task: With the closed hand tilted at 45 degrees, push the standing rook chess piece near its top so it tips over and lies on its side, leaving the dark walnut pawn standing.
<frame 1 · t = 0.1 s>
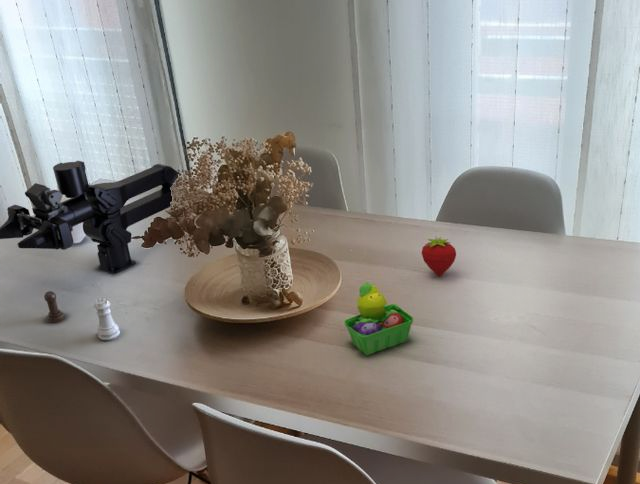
hand: (5, 241, 179), 17 cm above the table, tool horizontal, fingers open, 9 cm apart
sauce bottle: (76, 242, 218), on the table
walnut pawn: (56, 319, 183), on the table
rook chess piece: (109, 336, 175), on the table
strawberry: (439, 276, 186), on the table
fruit basket: (378, 342, 165), on the table
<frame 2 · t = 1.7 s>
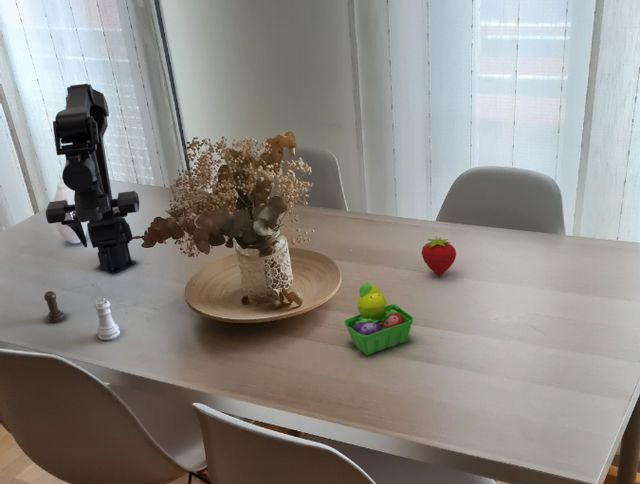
hand: (101, 244, 185), 12 cm above the table, tool pointing down, fingers open, 6 cm apart
nothing on the table moved.
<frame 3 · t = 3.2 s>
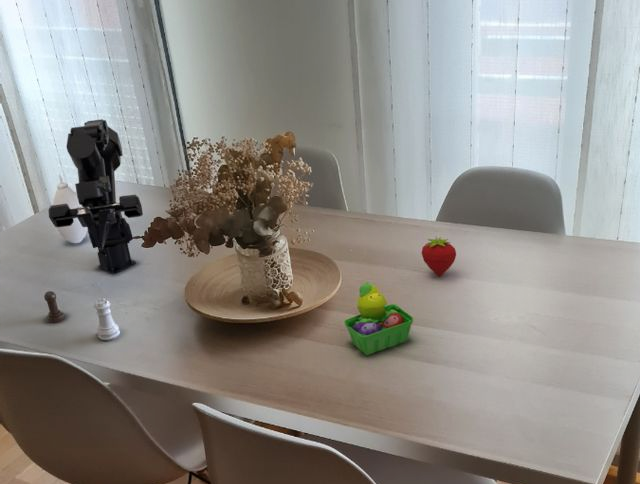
hand: (100, 248, 181), 13 cm above the table, tool tilted 45°, fingers closed
nothing on the table moved.
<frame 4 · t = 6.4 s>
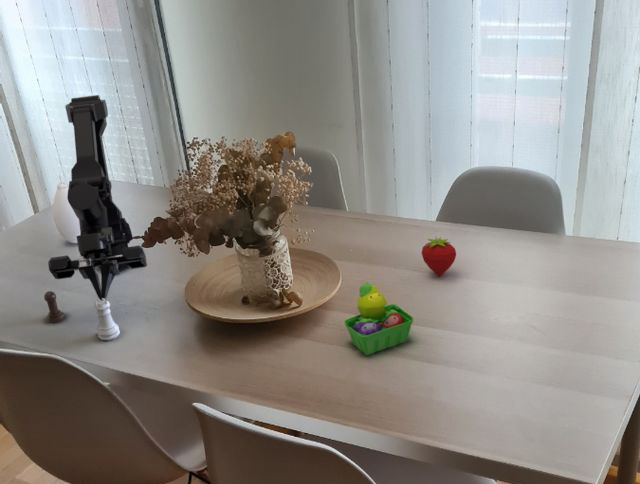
hand: (102, 302, 173), 7 cm above the table, tool tilted 45°, fingers closed
rook chess piece: (109, 336, 175), on the table, touching gripper
everything else where it was.
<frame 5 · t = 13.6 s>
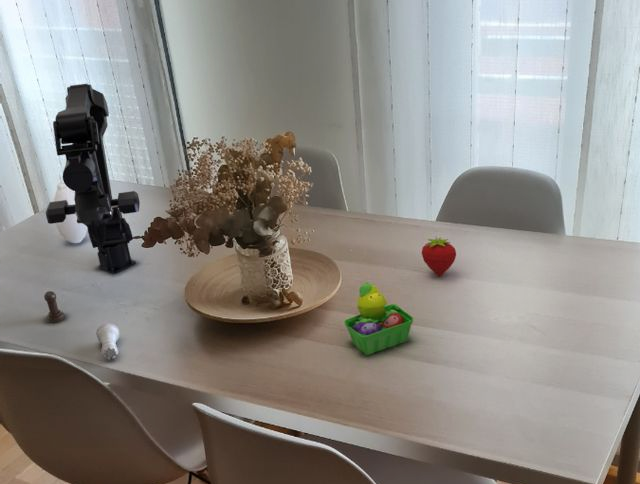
hand: (102, 244, 185), 12 cm above the table, tool pointing down, fingers closed
rook chess piece: (107, 331, 172), point 2 cm above the table
everything else where it was.
at the end: rook chess piece tilted 95°; rook chess piece inside the target area (0.4 cm from its centre), point 2.3 cm above the table; walnut pawn tilted 0° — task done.
